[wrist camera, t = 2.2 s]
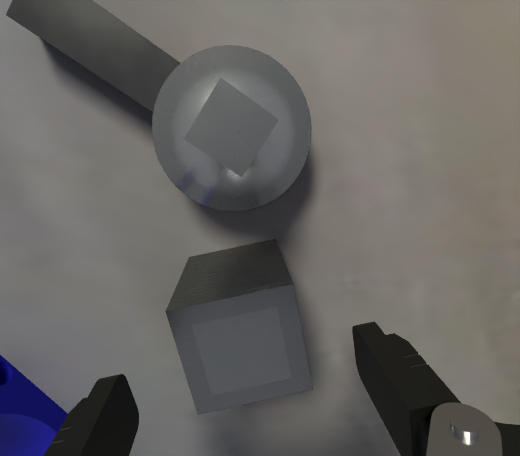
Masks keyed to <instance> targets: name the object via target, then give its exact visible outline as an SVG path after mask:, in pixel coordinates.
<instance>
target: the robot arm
mask: <svg viewBox="0 0 520 456" xmlns="http://www.w3.org/2000/svg"><path fill="white" fill-rule="evenodd" d="M352 331H353V340H354V349H355V357H356V364H357V369H358V372H359V375H360V378H361V380H362V382H363V384H364V386H365V388H366V390H367V392H368V394H369V396H370V398H371V400H372V401H373V403H374V405H375V407H376V409H377V411H378V413H379V415H380V417H381V418H382V420H383V422H384V424H385V426H386V428H387V430H388V432H389V434H390V436H391V437H392V439H393V441H394V443H395V445H396V447H397V449H398V451H399V453H400V454H401V456H520V425H513V424H503V423H498V422H493V421H492V419H490V418H489V417H488V416H487V415H486V414H484V413H483V412H482V411H480V410H478V409H476V408H474V407H472V406H469V405H466V404H462V403H461V402H460V401H459V400H458V399H457V398H456V396H455V395H454V394H453V393H452V392H451V391H450V389H449V388H448V387H447V386H446V385H445V384H444V383H443V381H442V380H441V379H440V378H439V377H438V376H437V374H436V373H435V372H434V371H433V370H432V369H431V367H430V366H429V365H427V364H426V362H425V360H424V359H423V358H422V357H421V356H420V355H418V352H417V351H416V350H415V349H414V348H413V346H412V345H411V344H410V343H409V342H408V341H407V340H405V339H403V338H401V337H400V336H398V335H396V334H395V333H393V334H389V335H385V334H384V333H383V331H382V330H381V329H380V327H379V326H378V325H377V324H376V323H375V322H370V323H365V324H360V325H356V326H353V329H352ZM138 425H139V413H138V408H137V405H136V403H135V400H134V397H133V395H132V392H131V389H130V387H129V384H128V381H127V379H126V377H125V376H124V375H123V374H120V375H115V376H110V377H105V378H101V379H99V380H98V381H97V382H96V383H95V385H94V387H93V389H92V390H91V392H90V394H89V396H88V398H83V399H82V400H81V401H80V402H79V403H78V404H77V405H76V406H75V407H74V408H73V409H72V410H71V411H70V412H69V414H68V415H67V417H66V419H65V420H64V422H63V424H62V425H61V427H60V431H58V432H57V434H56V435H55V437H54V439H53V440H52V445H49V447H48V449H47V450H46V452H45V454H44V455H43V456H129V454H130V451H131V448H132V445H133V442H134V439H135V436H136V433H137V430H138Z"/></svg>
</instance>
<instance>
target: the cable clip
mask: <svg viewBox="0 0 520 456" xmlns="http://www.w3.org/2000/svg"><path fill="white" fill-rule="evenodd" d="M67 415H68V414H67V413H66V412H65V411H64V410H63V409H62V408H61V407H59V406H58V405H57V404H56V403H55V402H54V401H53V400H51V399H50V398H49V397H48V396H47V395H46V394H45V393H43V392H42V391H41V390H40V389H39V388H38V387H37V386H35V385H34V384H33V383H32V382H31V381H30V380H28V379H27V378H26V377H25V376H24V375H23V374H22V373H20V372H19V371H18V370H17V369H16V368H15V367H14V366H12V365H11V364H10V363H9V362H8V361H7V360H6V359H4V358H3V357H2V356H1V355H0V456H43V455H44V454H45V452H46V450H47V449H48V447H49V445H52V440H53V439H54V437H55V435H56V434H57V432H58V431H60V427H61V425H62V424H63V422H64V420H65V419H66V417H67Z"/></svg>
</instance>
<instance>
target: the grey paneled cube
mask: <svg viewBox="0 0 520 456" xmlns="http://www.w3.org/2000/svg"><path fill="white" fill-rule="evenodd" d="M166 314H167V317H168V321H169V324H170V327H171V330H172V333H173V337H174V340H175V343H176V346H177V349H178V353H179V356H180V359H181V362H182V365H183V369H184V372H185V375H186V378H187V381H188V385H189V388H190V391H191V394H192V397H193V401H194V404H195V407H196V410H197V413H198V415H199V414H203V413H208V412H213V411H217V410H222V409H226V408H231V407H235V406H240V405H245V404H249V403H254V402H258V401H263V400H267V399H272V398H276V397H281V396H286V395H290V394H295V393H299V392H304V391H308V390H313V387H312V381H311V376H310V371H309V365H308V360H307V354H306V349H305V344H304V338H303V333H302V327H301V322H300V317H299V311H298V306H297V301H296V295H295V290H294V284H293V282H292V279H291V277H290V274H289V272H288V269H287V267H286V264H285V262H284V259H283V257H282V254H281V252H280V249H279V247H278V244H277V242H276V240H275V239H274V240H269V241H264V242H260V243H255V244H250V245H245V246H241V247H236V248H231V249H227V250H222V251H217V252H212V253H208V254H203V255H198V256H193V257H189V259H188V261H187V263H186V266H185V268H184V270H183V273H182V275H181V277H180V279H179V282H178V284H177V286H176V289H175V291H174V293H173V296H172V298H171V300H170V303H169V305H168V307H167V310H166Z"/></svg>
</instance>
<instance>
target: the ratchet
mask: <svg viewBox="0 0 520 456" xmlns="http://www.w3.org/2000/svg"><path fill="white" fill-rule="evenodd" d="M6 15H7V16H8V17H10V18H11V19H13V20H14V21H16V22H17V23H19V24H20V25H22V26H23V27H25V28H26V29H28V30H29V31H31V32H32V33H34V34H35V35H37V36H39V37H40V38H42V39H43V40H45V41H46V42H48V43H49V44H51V45H52V46H54V47H55V48H57V49H58V50H60V51H61V52H63V53H64V54H66V55H67V56H69V57H70V58H72V59H73V60H75V61H76V62H78V63H79V64H81V65H82V66H84V67H85V68H87V69H88V70H90V71H91V72H93V73H94V74H96V75H97V76H99V77H100V78H102V79H103V80H105V81H106V82H108V83H109V84H111V85H112V86H114V87H115V88H117V89H118V90H120V91H121V92H123V93H124V94H126V95H127V96H129V97H130V98H132V99H133V100H135V101H136V102H138V103H139V104H141V105H142V106H144V107H145V108H147V109H149V110H150V111H152V112H153V117H152V134H153V142H154V146H155V151H156V153H157V156H158V159H159V162H160V164H161V166H162V168H163V170H164V171H165V173H166V174H167V176H168V177H169V179H170V180H171V181H172V182H173V183H174V185H175V186H176V187H177V188H178V189H179V190H180V191H182V192H183V193H184V194H185V195H187V196H188V197H189V198H191V199H192V200H194V201H196V202H198V203H200V204H202V205H204V206H207V207H209V208H213V209H217V210H222V211H245V210H251V209H254V208H258V207H261V206H263V205H265V204H268V203H269V202H271V201H273V200H275V199H276V198H278V197H279V196H280V195H282V194H283V193H284V192H285V191H286V190H287V189H288V188H289V187H290V186H291V185H292V184H293V182H294V181H295V180H296V179H297V177H298V176H299V174H300V172H301V170H302V169H303V166H304V164H305V162H306V160H307V156H308V153H309V149H310V143H311V130H312V128H311V117H310V112H309V108H308V105H307V102H306V99H305V96H304V94H303V92H302V90H301V88H300V86H299V85H298V83H297V82H296V80H295V79H294V77H293V76H292V75H291V74H290V73H289V72H288V70H287V69H286V68H284V67H283V66H282V65H281V64H280V63H279V62H277V61H276V60H274V59H273V58H271V57H270V56H268V55H266V54H264V53H262V52H260V51H258V50H254V49H251V48H248V47H242V46H232V45H225V46H217V47H212V48H209V49H205V50H202V51H200V52H198V53H196V54H194V55H192V56H190V57H189V58H187V59H186V60H184V61H183V62H182V63H180V62H178V61H177V60H175V59H174V58H173V57H171V56H170V55H168V54H167V53H166V52H164V51H163V50H161V49H160V48H159V47H157V46H156V45H154V44H153V43H152V42H150V41H149V40H147V39H146V38H144V37H143V36H142V35H140V34H139V33H137V32H136V31H135V30H133V29H132V28H130V27H129V26H128V25H126V24H125V23H123V22H122V21H121V20H119V19H118V18H116V17H115V16H114V15H112V14H111V13H109V12H108V11H107V10H105V9H104V8H102V7H101V6H100V5H98V4H97V3H95V2H94V1H92V0H12V2H11V5H10V7H9V9H8V12H7V14H6Z"/></svg>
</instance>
